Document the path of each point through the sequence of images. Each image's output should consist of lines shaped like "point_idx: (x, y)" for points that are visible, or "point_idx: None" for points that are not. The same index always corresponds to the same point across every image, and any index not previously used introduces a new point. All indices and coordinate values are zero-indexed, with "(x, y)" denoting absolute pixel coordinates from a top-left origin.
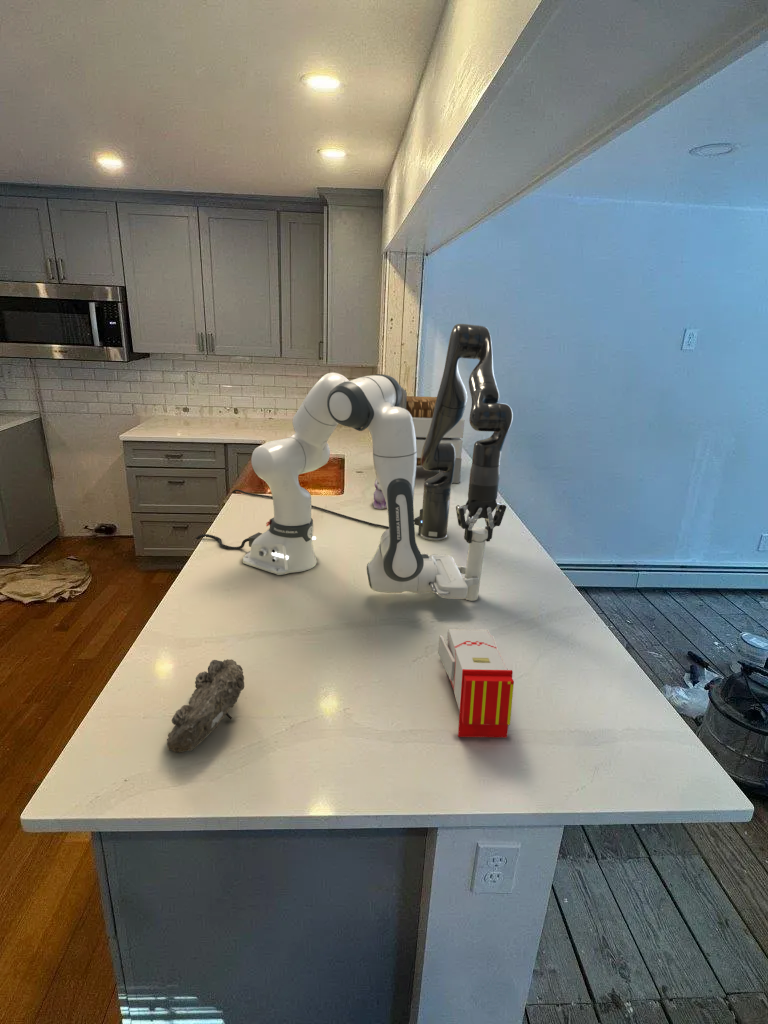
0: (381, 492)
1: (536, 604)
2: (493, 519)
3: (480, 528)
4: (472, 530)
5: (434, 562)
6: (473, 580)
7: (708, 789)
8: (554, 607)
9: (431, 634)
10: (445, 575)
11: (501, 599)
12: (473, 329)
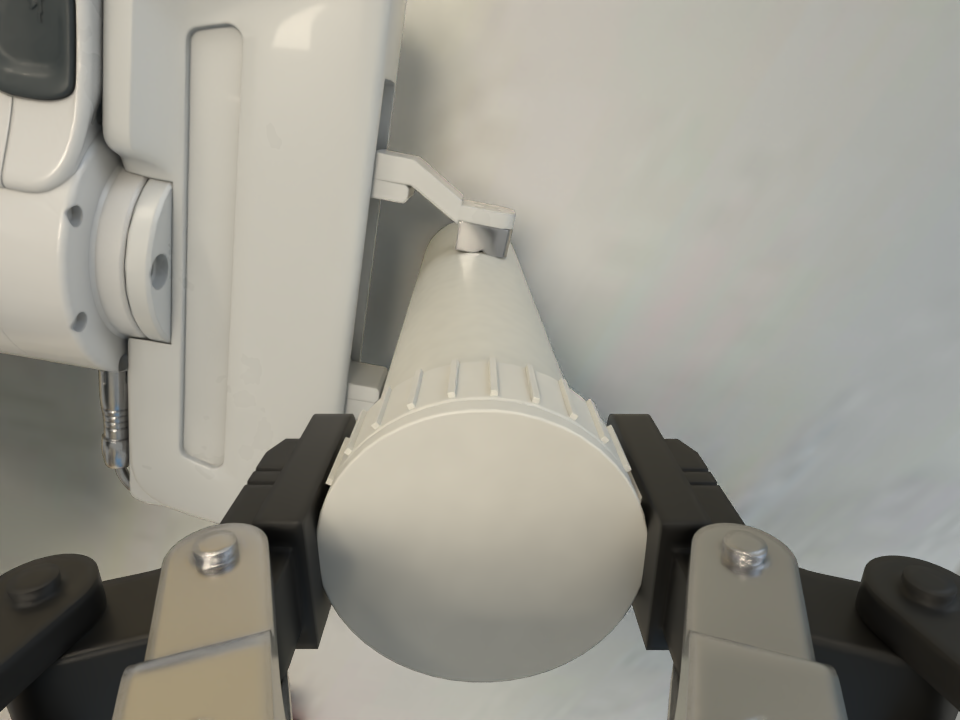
0: None
1: (798, 418)
2: (909, 655)
3: (559, 492)
4: (366, 543)
5: (137, 155)
6: None
7: None
8: (866, 463)
9: (150, 545)
10: (213, 348)
11: (643, 329)
12: None
